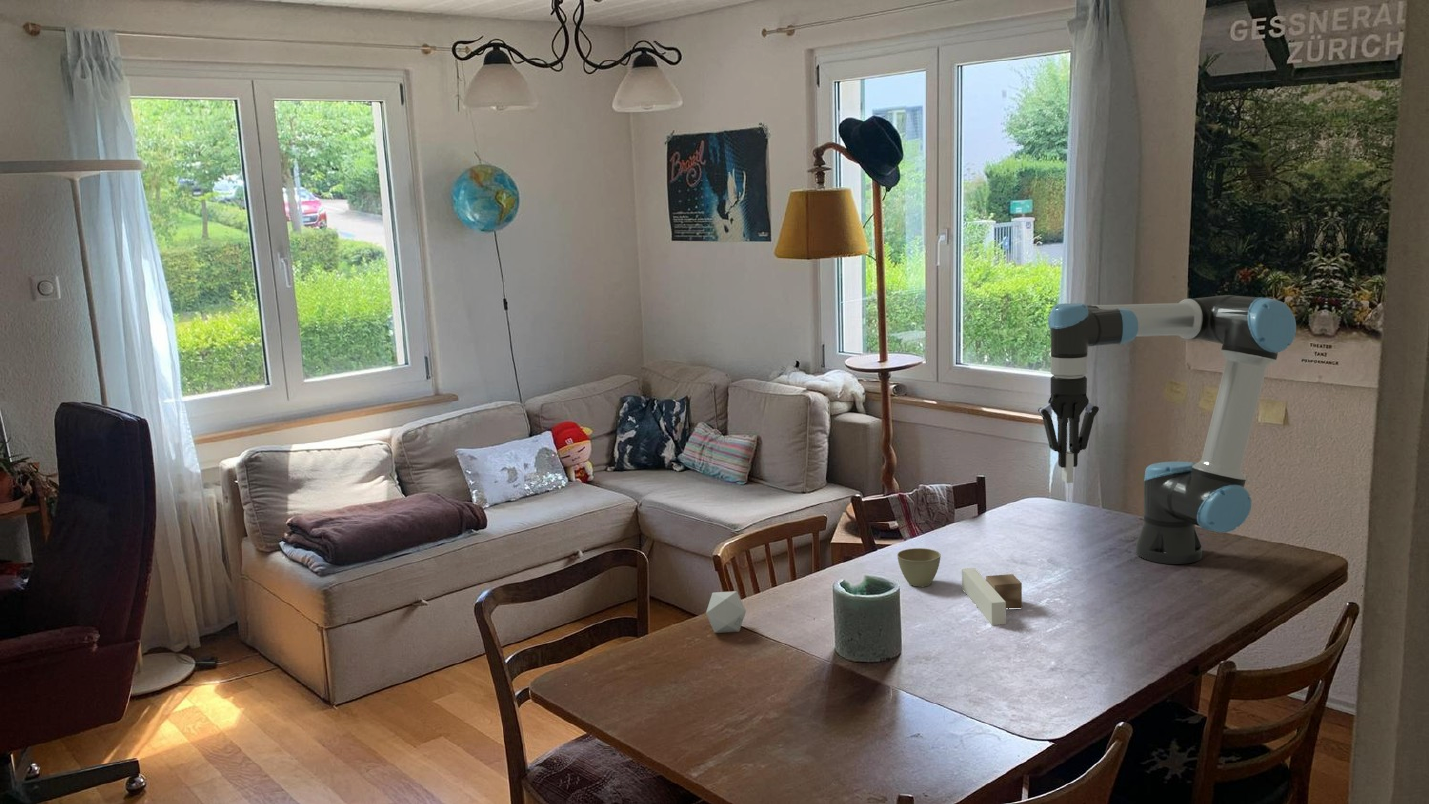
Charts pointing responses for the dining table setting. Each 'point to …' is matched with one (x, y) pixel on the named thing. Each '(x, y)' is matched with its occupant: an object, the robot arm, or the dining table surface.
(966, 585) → the board
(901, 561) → the flower pot
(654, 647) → the dining table surface
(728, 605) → the die
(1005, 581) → the block
